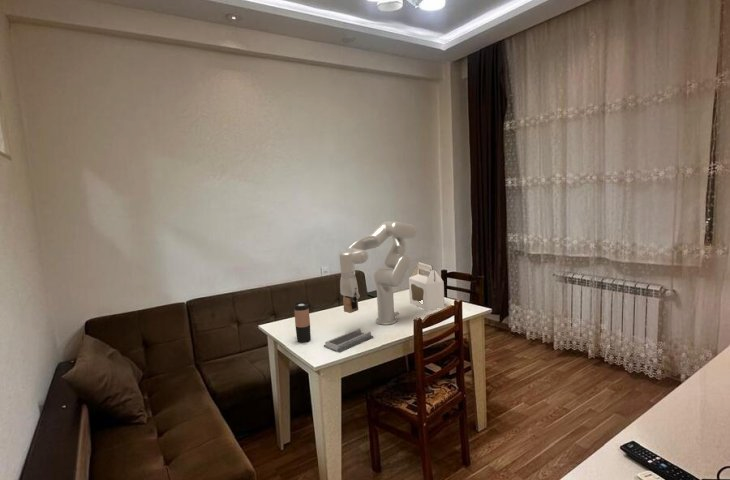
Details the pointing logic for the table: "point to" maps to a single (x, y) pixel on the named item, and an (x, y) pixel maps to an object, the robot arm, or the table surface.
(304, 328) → the travel mug
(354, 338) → the guide channel
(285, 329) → the table surface
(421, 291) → the gable box
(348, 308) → the walnut block
